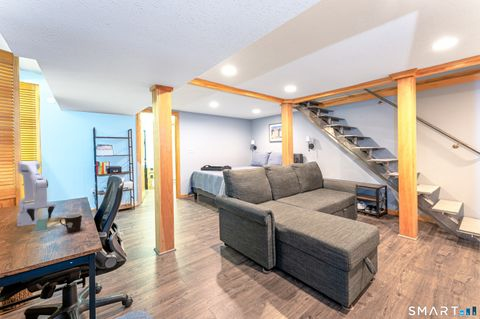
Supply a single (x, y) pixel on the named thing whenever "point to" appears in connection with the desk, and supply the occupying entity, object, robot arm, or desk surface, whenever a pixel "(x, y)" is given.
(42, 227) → the block
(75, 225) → the coffee mug
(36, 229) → the pad
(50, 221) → the tan shallow tray
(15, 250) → the desk surface
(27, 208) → the robot arm
